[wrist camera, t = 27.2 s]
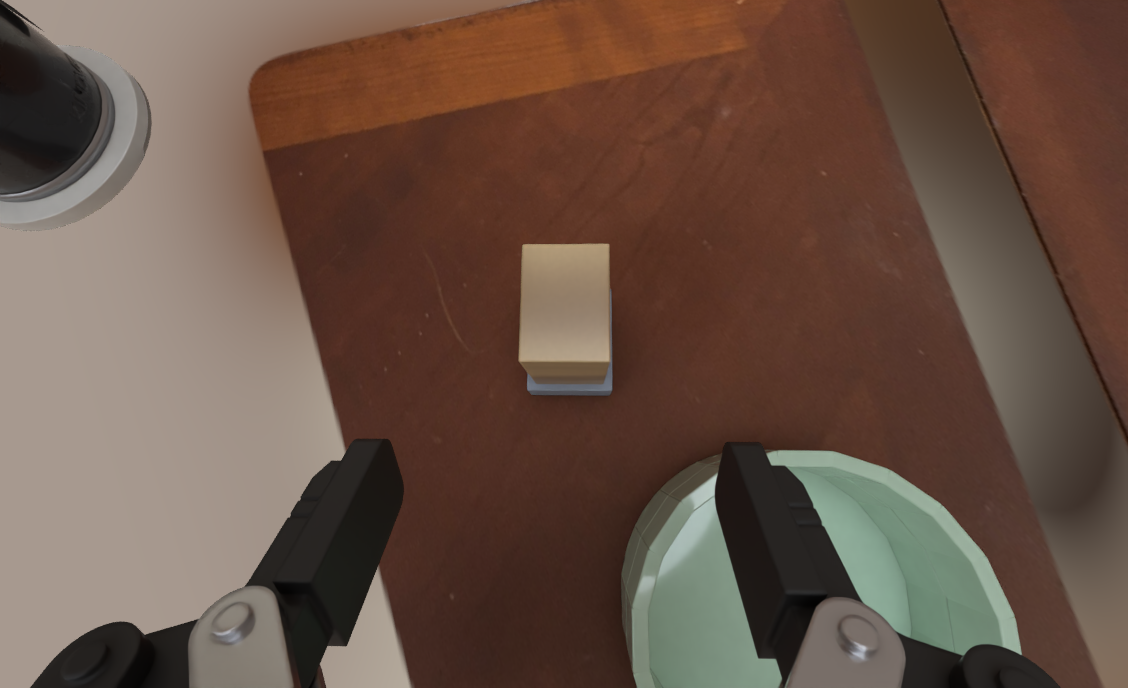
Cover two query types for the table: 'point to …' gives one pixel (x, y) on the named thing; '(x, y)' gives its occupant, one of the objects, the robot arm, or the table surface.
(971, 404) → the table surface
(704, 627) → the bowl
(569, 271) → the eraser
